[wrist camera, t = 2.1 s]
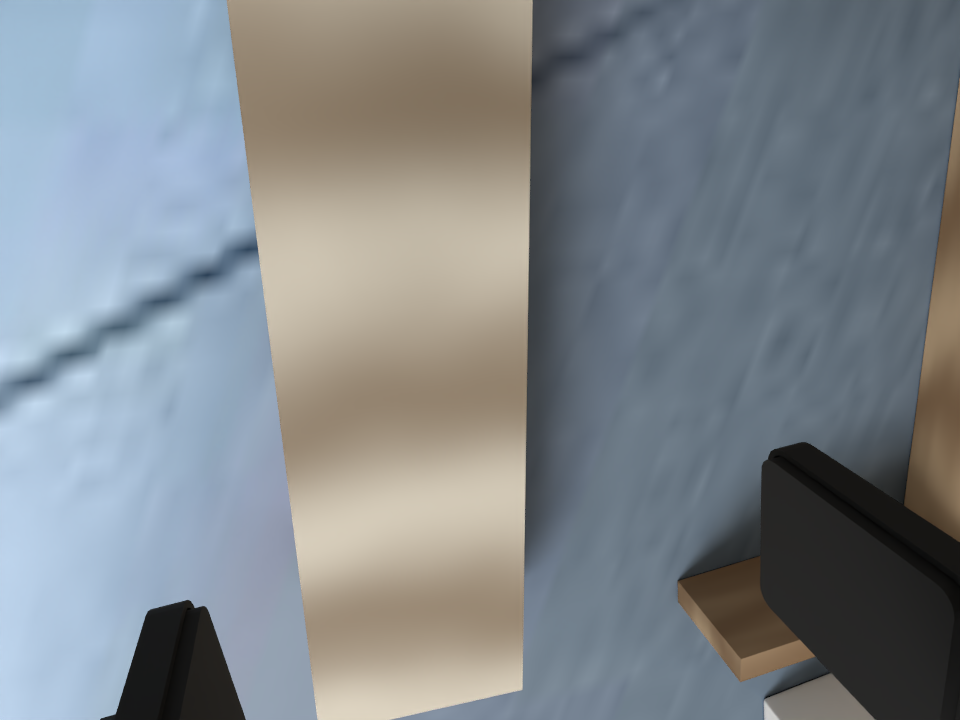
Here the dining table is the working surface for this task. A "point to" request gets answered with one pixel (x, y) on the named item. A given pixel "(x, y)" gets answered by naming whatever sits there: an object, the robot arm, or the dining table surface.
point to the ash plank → (397, 331)
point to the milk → (815, 702)
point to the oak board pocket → (930, 483)
